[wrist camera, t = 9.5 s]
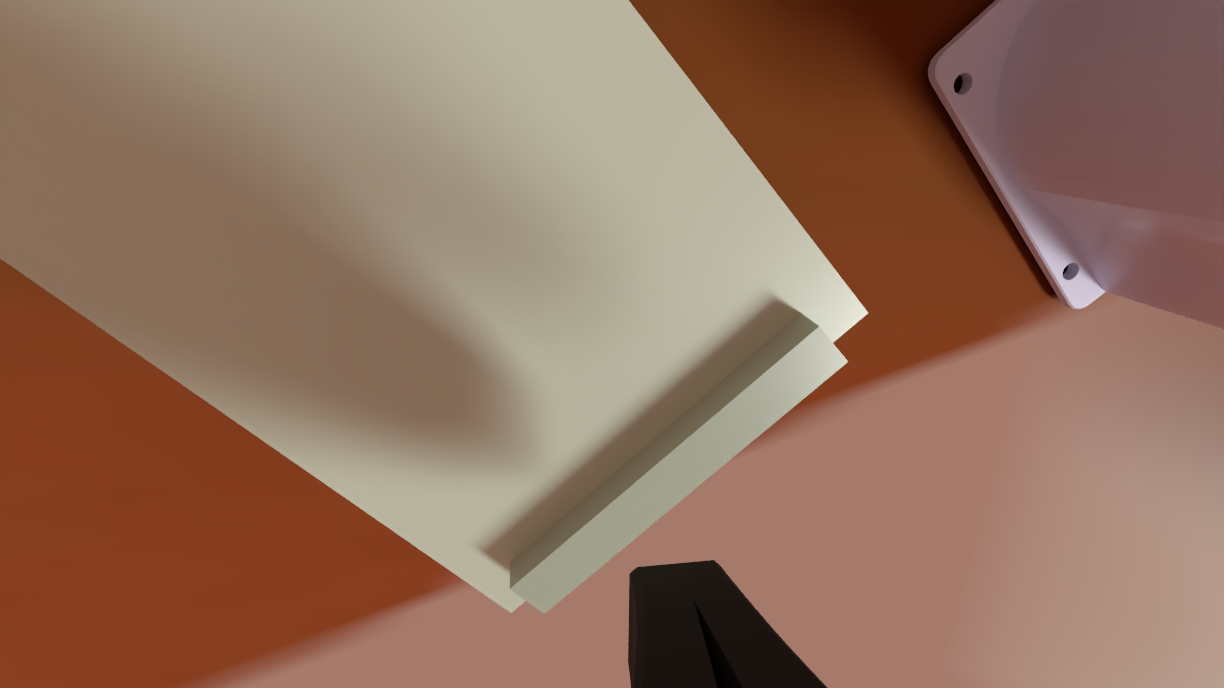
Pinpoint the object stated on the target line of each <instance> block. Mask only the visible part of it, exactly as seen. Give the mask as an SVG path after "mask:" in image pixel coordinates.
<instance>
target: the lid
mask: <svg viewBox="0 0 1224 688" xmlns="http://www.w3.org/2000/svg"><path fill="white" fill-rule="evenodd" d="M0 259H2V260H3V261H5V262H6V263H7V264H9V265H10V266H12V267H13V268H15V269H16V270H18V271H19V272H20V273H22V274H23V275H25V276H26V277H28V278H29V279H31V280H32V281H33V282H35V283H36V284H38V285H39V286H41V287H42V288H43V289H45V290H46V291H48V292H49V293H51V294H52V295H54V296H55V297H56V298H58V299H59V300H61V301H62V302H64V303H65V304H67V305H68V306H69V307H71V308H72V309H74V310H75V311H77V312H78V313H80V314H81V315H82V316H84V317H85V318H87V319H88V320H90V321H91V322H92V323H94V324H95V325H97V326H98V327H100V328H101V329H103V330H104V331H105V332H107V333H108V334H110V335H111V336H113V337H114V338H116V339H117V340H118V341H120V342H121V343H123V344H124V345H126V346H127V347H128V348H130V349H131V350H133V351H134V352H136V353H137V354H139V355H140V356H141V357H143V358H144V359H146V360H147V361H149V362H150V363H152V364H153V365H154V366H156V367H157V368H159V369H160V370H162V371H163V372H165V373H166V374H167V375H169V376H170V377H172V378H173V379H175V380H176V381H177V382H179V383H180V384H182V385H183V386H185V387H186V388H188V389H189V390H190V391H192V392H193V393H195V394H196V395H198V396H199V397H201V398H202V399H203V400H205V401H206V402H208V403H209V404H211V405H212V406H214V407H215V408H216V409H218V410H219V411H221V412H222V413H224V414H225V415H226V416H228V417H229V418H231V419H232V420H234V421H235V422H237V423H238V424H239V425H241V426H242V427H244V428H245V429H247V430H248V431H250V432H251V433H252V434H254V435H255V436H257V437H258V438H260V439H261V440H262V441H264V442H265V443H267V444H268V445H270V446H271V447H273V448H274V449H275V450H277V451H278V452H280V453H281V454H283V455H284V456H286V457H287V458H288V459H290V460H291V461H293V462H294V463H296V464H297V465H299V466H300V467H301V468H303V469H304V470H306V471H307V472H309V473H310V474H311V475H313V476H314V477H316V478H317V479H319V480H320V481H322V482H323V483H324V484H326V485H327V486H329V487H330V488H332V489H333V490H335V491H336V492H337V493H339V494H340V495H342V496H343V497H345V498H346V499H347V500H349V501H350V502H352V503H353V504H355V505H356V506H358V507H359V508H360V509H362V510H363V511H365V512H366V513H368V514H369V515H371V516H372V517H373V518H375V519H376V520H378V521H379V522H381V523H382V524H384V525H385V526H386V527H388V528H389V529H391V530H392V531H394V532H395V533H396V534H398V535H399V536H401V537H402V538H404V539H405V540H407V541H408V542H409V543H411V544H412V545H414V546H415V547H417V548H418V549H420V550H421V551H422V552H424V553H425V554H427V555H428V556H430V557H431V558H433V559H434V560H435V561H437V562H438V563H440V564H441V565H443V566H444V567H445V568H447V569H448V570H450V571H451V572H453V573H454V574H456V575H457V576H458V577H460V578H461V579H463V580H464V581H466V582H467V583H469V584H470V585H471V586H473V587H474V588H476V589H477V590H479V591H480V592H481V593H483V594H485V595H486V596H487V597H489V598H490V599H492V600H493V601H494V602H496V603H497V604H499V605H500V606H502V607H503V608H505V609H506V610H508V611H509V612H510V613H512V612H513V611H514V610H515V609H516V608H518V607H519V606H520V605H521V604H522V603H523V602H525V601H527V602H528V603H530V604H531V605H533V606H534V607H535V608H537V609H538V610H540V611H541V612H543V613H546V612H547V611H548V610H550V609H551V608H552V607H553V606H554V605H556V604H557V603H558V602H559V601H560V600H562V599H563V598H564V597H565V596H566V595H568V594H569V593H570V592H571V591H572V590H573V589H575V588H576V587H577V586H578V585H580V584H581V583H582V582H583V581H584V580H586V579H587V578H588V577H589V576H590V575H592V574H593V573H594V572H595V571H596V570H598V569H599V568H600V567H601V566H602V565H604V564H605V563H606V562H607V561H608V560H610V559H611V558H612V557H613V556H614V555H616V554H617V553H618V552H619V551H621V550H622V549H623V548H624V547H625V546H627V545H628V544H629V543H630V542H631V541H633V540H634V539H635V538H636V537H637V536H639V535H640V534H641V533H642V532H643V531H645V530H646V529H647V528H648V527H650V526H651V525H652V524H653V523H654V522H656V520H658V519H659V518H660V517H662V516H663V515H664V514H665V513H666V512H668V511H669V510H670V509H671V508H672V507H674V506H675V505H676V504H677V503H679V502H680V501H681V500H682V499H683V498H685V497H686V496H687V495H688V494H689V493H691V492H692V491H693V490H694V489H695V488H696V487H698V486H699V485H700V484H701V483H703V482H704V481H705V480H706V479H707V478H709V477H710V476H711V475H712V474H713V473H715V472H716V471H717V470H718V469H719V468H721V467H722V466H723V465H724V464H726V463H727V462H728V461H729V460H730V459H732V458H733V457H734V456H735V455H736V454H738V453H739V452H740V451H741V450H742V449H744V448H745V447H746V446H747V445H748V444H750V443H751V442H752V441H753V440H754V439H756V438H757V437H758V436H759V435H760V434H762V433H763V432H764V431H765V430H767V429H768V428H769V427H770V426H771V425H773V424H774V423H775V422H776V421H777V420H779V419H780V418H781V417H782V416H783V415H785V414H786V413H787V412H788V411H789V410H791V409H792V408H793V407H794V406H795V405H797V404H798V403H799V402H800V401H801V400H803V399H804V398H805V397H806V396H807V395H809V394H810V393H811V392H812V391H814V390H815V389H816V388H817V387H818V386H820V385H821V384H822V383H823V382H824V381H826V380H827V379H828V378H829V377H830V376H832V375H833V374H834V373H835V372H836V371H838V370H839V369H840V368H841V367H842V366H844V365H845V364H846V363H847V362H848V361H847V360H846V359H845V357H844V356H843V355H842V354H841V352H840V351H839V350H838V349H837V348H836V346H835V345H834V344H833V342H834V341H836V340H837V339H838V338H839V337H840V336H842V335H843V334H844V333H845V332H846V331H848V330H849V329H850V328H851V327H852V326H853V325H855V324H856V323H857V322H858V321H859V320H861V319H862V318H863V317H864V316H865V315H867V314H868V312H867V311H866V309H865V308H864V307H863V305H862V304H861V303H860V302H859V300H858V299H857V298H856V296H855V295H854V294H853V292H852V291H851V290H850V288H849V287H848V286H847V285H846V283H845V282H844V281H843V279H842V278H841V277H840V275H839V274H838V273H837V272H836V270H835V269H834V268H833V266H832V265H831V264H830V262H829V261H828V260H827V258H826V257H825V256H824V255H823V253H822V252H821V251H820V249H819V248H818V247H817V245H816V244H815V243H814V242H813V240H812V239H811V238H810V236H809V235H808V234H807V232H806V231H805V230H804V228H803V227H802V226H801V225H800V223H799V222H798V221H797V219H796V218H795V217H794V215H793V214H792V213H791V212H790V210H789V209H788V208H787V206H786V205H785V204H784V202H783V201H782V200H781V198H780V197H779V196H778V195H777V193H776V192H775V191H774V189H773V188H772V187H771V185H770V184H769V183H768V182H767V180H766V179H765V178H764V176H763V175H762V174H761V172H760V171H759V170H758V169H757V167H756V166H755V165H754V163H753V162H752V161H751V159H750V158H749V157H748V155H747V154H746V153H745V152H744V150H743V149H742V148H741V146H740V145H739V144H738V142H737V141H736V140H735V138H734V137H733V136H732V135H731V133H730V132H729V131H728V129H727V128H726V127H725V125H724V124H723V123H722V122H721V120H720V119H719V118H718V116H717V115H716V114H715V112H714V111H713V110H712V108H711V107H710V106H709V105H708V103H707V102H706V101H705V99H704V98H703V97H702V95H701V94H700V93H699V92H698V90H697V89H696V88H695V86H694V85H693V84H692V82H691V81H690V80H689V79H688V77H687V76H686V75H685V73H684V72H683V71H682V69H681V68H680V67H679V65H678V64H677V63H676V62H675V60H674V59H673V58H672V56H671V55H670V54H669V52H668V51H667V50H666V48H665V47H664V46H663V45H662V43H661V42H660V41H659V39H658V38H657V37H656V35H655V34H654V33H653V32H652V30H651V29H650V28H649V26H648V25H647V24H646V22H645V21H644V20H643V19H642V17H641V16H640V15H639V13H638V12H637V11H636V9H635V8H634V7H633V5H632V4H631V3H630V2H629V0H0Z"/></svg>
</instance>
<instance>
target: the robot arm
mask: <svg viewBox="0 0 1224 688" xmlns="http://www.w3.org/2000/svg"><path fill="white" fill-rule="evenodd" d="M958 75H960V76H961V77H962V81H963V83H962V88H961V89H960V90H959V92H958V93H956V92H955V91H954V82H955V79H956V78H957V77H958ZM928 78H929V81H930V83H931V85H932V87H933V88H934V90H935V92H936V93H937V95H938V97H939V98H940V100H941V102H942V104H943V105H944V107H945V109H946V110H947V112H948V114H949V115H950V117H951V119H952V120H953V122H954V124H955V125H956V127H957V129H958V130H959V132H960V134H961V135H962V137H963V139H964V140H965V142H966V144H967V145H968V147H969V149H970V150H971V152H972V154H973V155H974V157H975V159H976V160H977V162H978V164H979V166H980V167H981V169H982V171H983V172H984V174H985V176H986V177H987V179H988V181H989V182H990V184H991V186H992V187H993V189H994V191H995V192H996V194H997V196H998V197H999V199H1000V201H1001V202H1002V204H1003V206H1004V207H1005V209H1006V211H1007V212H1008V214H1009V216H1010V217H1011V219H1012V221H1013V223H1014V224H1015V226H1016V228H1017V229H1018V231H1019V233H1020V234H1021V236H1022V238H1023V239H1024V241H1025V243H1026V244H1027V246H1028V248H1029V249H1030V251H1031V253H1032V254H1033V256H1034V258H1035V259H1036V261H1037V263H1038V264H1039V266H1040V268H1041V269H1042V271H1043V273H1044V274H1045V276H1046V278H1047V280H1048V281H1049V283H1050V285H1051V286H1052V288H1053V290H1054V291H1055V293H1056V295H1057V296H1058V298H1059V300H1060V301H1061V303H1063V304H1064V305H1065V306H1068V307H1071V308H1074V309H1082V308H1084V307H1086V306H1088V305H1089V304H1091V303H1092V302H1093V301H1094V300H1096V299H1097V298H1098V297H1099V296H1101V295H1102V294H1103V293H1105V292H1108V293H1112V294H1115V295H1118V296H1121V297H1124V298H1127V299H1130V300H1134V301H1137V302H1140V303H1143V304H1146V305H1149V306H1152V307H1156V308H1159V309H1162V310H1165V311H1168V312H1171V313H1175V314H1177V315H1181V316H1184V317H1187V318H1190V319H1193V320H1196V321H1199V322H1203V323H1206V324H1209V325H1212V326H1215V327H1218V328H1222V329H1224V0H995V1H994V2H993V3H992V4H991V5H990V6H988V7H987V8H986V9H985V10H984V11H983V12H982V13H981V14H980V15H978V16H977V17H976V18H975V19H974V20H973V21H972V22H971V23H970V24H968V25H967V26H966V27H965V28H964V29H963V30H962V31H961V32H960V33H958V34H957V35H956V36H955V37H954V38H953V39H952V40H951V41H950V42H948V43H947V44H946V45H945V46H944V47H943V48H942V49H941V50H940V51H938V52H937V53H936V55H935V56H934V57H933V58H932V60H931V62H930V64H929V67H928ZM1067 265H1068V269H1067V271H1066V272H1065V273H1064V274H1062V273H1063V270H1064V268H1065V267H1066V266H1067ZM629 588H630V589H629V649H628V652H629V653H628V663H629V671H630V680H631V688H827V687H826V686H825V685H824V684H823V683H822V682H821V681H820V680H819V679H818V677H817V676H816V675H815V674H814V673H813V672H812V671H811V670H810V669H809V668H808V667H807V666H806V665H805V664H804V662H803V661H802V660H801V659H800V658H799V657H798V656H797V655H796V654H795V653H794V652H793V651H792V649H791V648H790V647H789V646H788V645H787V644H786V643H785V642H784V641H783V640H782V639H781V637H780V636H779V635H778V634H777V633H776V632H775V631H774V630H773V628H772V627H771V626H770V625H769V624H768V623H767V622H766V620H765V619H764V618H763V617H762V616H761V615H760V613H759V612H758V611H757V610H756V609H755V608H754V606H753V605H752V604H751V603H750V602H749V600H748V599H747V598H746V597H745V596H744V594H743V593H742V592H741V591H740V590H739V588H738V587H737V586H736V585H735V583H734V582H733V581H732V580H731V579H730V577H729V576H728V575H727V574H726V572H725V571H724V570H723V569H722V567H721V566H720V565H719V564H718V563H716V562H715V561H714V560H711V561H701V562H690V563H678V564H667V565H656V566H646V567H637V568H636V569H635V570H633V571H632V572H631V573H630V586H629Z"/></svg>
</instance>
